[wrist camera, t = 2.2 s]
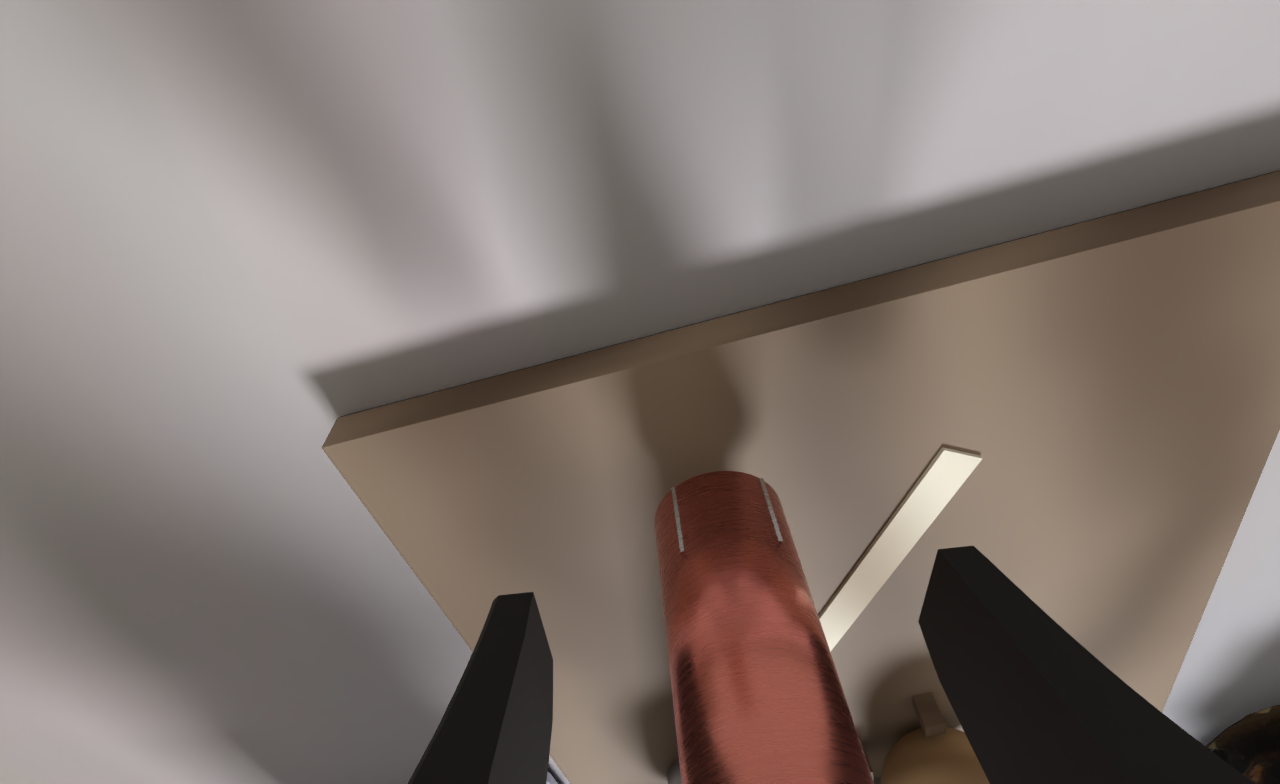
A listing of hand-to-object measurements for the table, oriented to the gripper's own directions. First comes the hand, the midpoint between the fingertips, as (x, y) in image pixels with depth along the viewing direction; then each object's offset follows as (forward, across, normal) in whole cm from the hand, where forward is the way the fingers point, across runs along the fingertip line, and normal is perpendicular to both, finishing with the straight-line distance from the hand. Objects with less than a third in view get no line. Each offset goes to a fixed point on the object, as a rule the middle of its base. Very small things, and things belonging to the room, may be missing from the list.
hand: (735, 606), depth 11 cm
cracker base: (+4, -4, +8) cm, 10 cm away
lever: (+2, 0, +7) cm, 8 cm away
